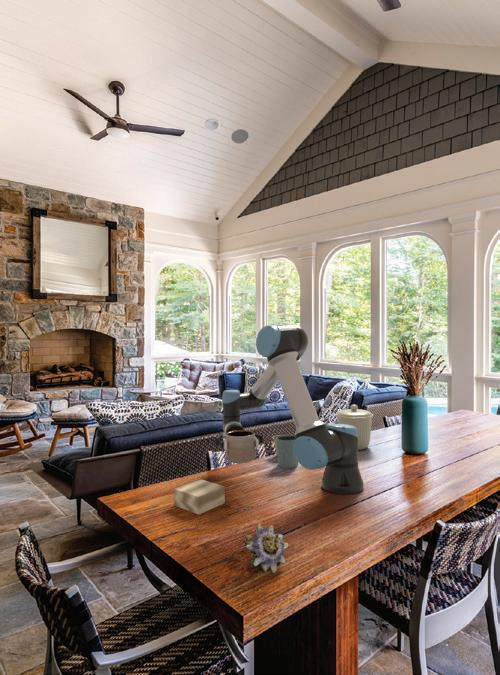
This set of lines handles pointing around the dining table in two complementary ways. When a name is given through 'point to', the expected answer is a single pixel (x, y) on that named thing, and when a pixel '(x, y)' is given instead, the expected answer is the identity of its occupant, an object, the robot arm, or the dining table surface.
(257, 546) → the passion flower
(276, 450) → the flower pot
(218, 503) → the maple block
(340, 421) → the canister
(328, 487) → the robot arm
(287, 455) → the green cup
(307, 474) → the dining table surface
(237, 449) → the planter
